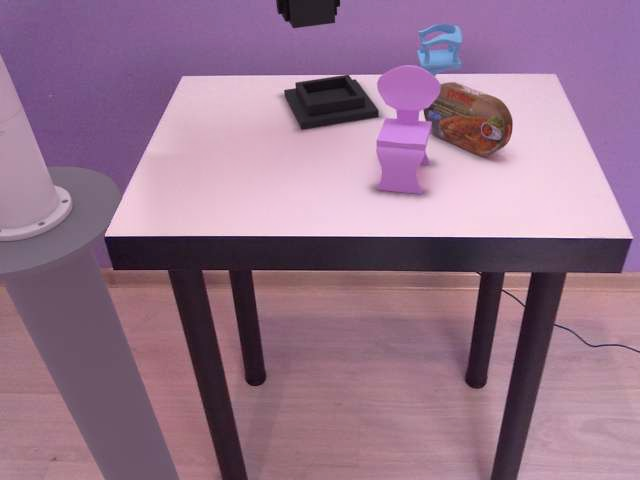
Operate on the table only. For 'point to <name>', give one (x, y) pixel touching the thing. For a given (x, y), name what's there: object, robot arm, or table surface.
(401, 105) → the toy chair
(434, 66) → the chair
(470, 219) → the table surface
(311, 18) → the black square block
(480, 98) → the tin
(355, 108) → the base pad
